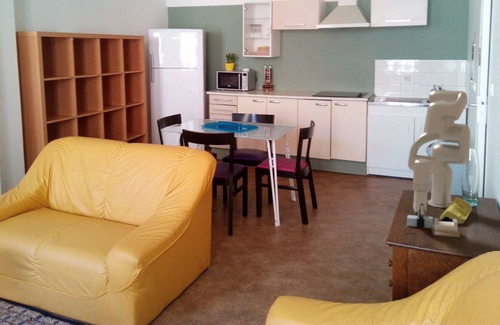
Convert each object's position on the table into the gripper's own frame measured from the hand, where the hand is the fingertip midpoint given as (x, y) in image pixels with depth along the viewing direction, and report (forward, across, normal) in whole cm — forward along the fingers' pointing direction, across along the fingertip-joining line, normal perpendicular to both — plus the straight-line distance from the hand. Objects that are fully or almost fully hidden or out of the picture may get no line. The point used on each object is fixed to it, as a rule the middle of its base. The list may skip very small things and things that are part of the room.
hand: (419, 223), depth 236 cm
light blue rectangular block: (+1, 0, 0) cm, 1 cm away
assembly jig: (+1, +8, +10) cm, 13 cm away
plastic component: (+1, -14, +18) cm, 23 cm away
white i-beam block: (0, +8, +10) cm, 13 cm away
